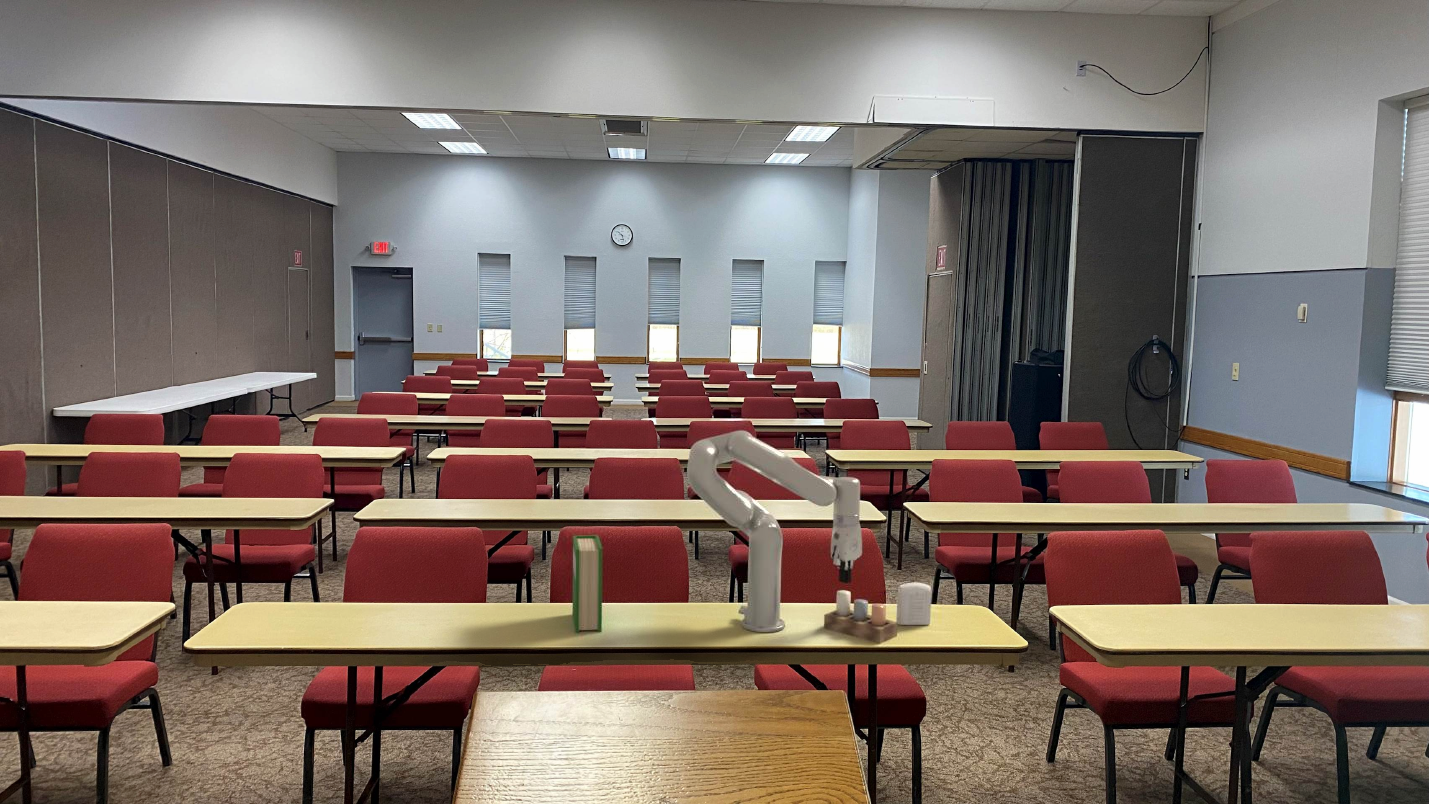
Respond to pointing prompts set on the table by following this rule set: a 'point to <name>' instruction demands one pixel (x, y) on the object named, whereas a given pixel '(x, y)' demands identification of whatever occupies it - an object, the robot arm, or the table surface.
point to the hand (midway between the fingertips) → (845, 581)
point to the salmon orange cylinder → (878, 615)
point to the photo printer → (913, 604)
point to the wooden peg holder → (860, 627)
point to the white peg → (843, 603)
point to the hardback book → (587, 583)
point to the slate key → (860, 610)
